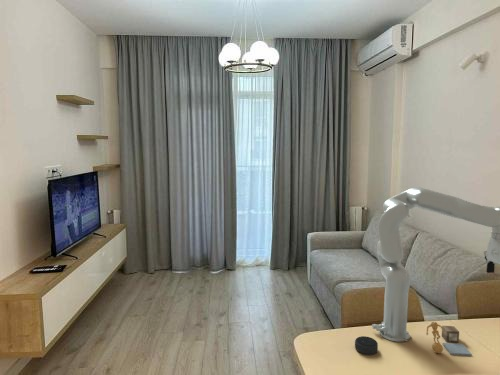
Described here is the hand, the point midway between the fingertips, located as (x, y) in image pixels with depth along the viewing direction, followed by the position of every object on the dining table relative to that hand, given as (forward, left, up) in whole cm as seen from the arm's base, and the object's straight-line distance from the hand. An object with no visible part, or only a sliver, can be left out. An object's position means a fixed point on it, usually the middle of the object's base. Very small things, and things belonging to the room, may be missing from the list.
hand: (499, 276), depth 157 cm
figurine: (-29, -12, -29) cm, 42 cm away
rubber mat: (-20, -10, -29) cm, 36 cm away
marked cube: (-19, -1, -29) cm, 34 cm away
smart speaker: (-57, -14, -29) cm, 65 cm away
